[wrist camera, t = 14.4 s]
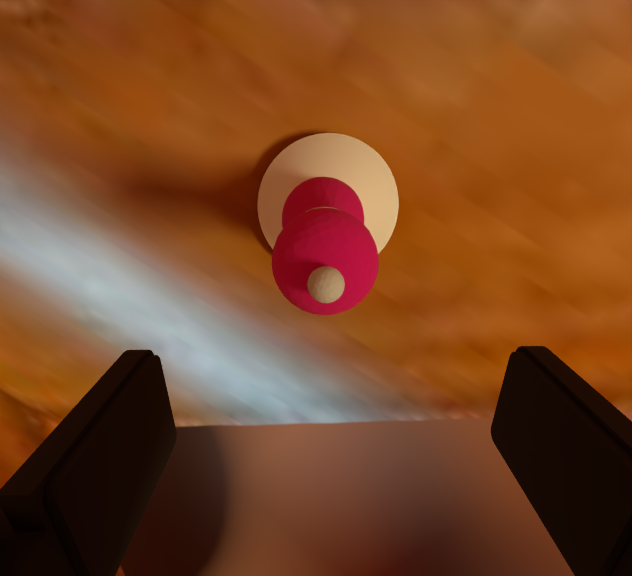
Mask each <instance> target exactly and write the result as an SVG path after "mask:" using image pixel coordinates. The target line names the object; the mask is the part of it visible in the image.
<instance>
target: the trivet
mask: <svg viewBox="0 0 632 576" xmlns="http://www.w3.org/2000/svg"><path fill="white" fill-rule="evenodd" d="M315 177H332V178H335V179H338V180H340V181H342V182H344V183H346V184H347V185H349V186H350V187H351V188H352V189H353V190H354V191H355V193H356V194H357V195H358V197H359V199H360V201H361V203H362V207H363V212H364V225H365V226H366V228H367V229H368V230H369V231H370V233H371V235H372V237H373V239H374V241H375V243H376V247H377V251H378V254H379V252H380V251H381V250H382V249H383V248H384V246H385V245H386V244H387V242H388V240H389V238H390V237H391V235H392V232H393V230H394V227H395V224H396V220H397V216H398V192H397V187H396V183H395V180H394V177H393V175H392V173H391V170H390V169H389V167H388V165H387V164H386V162H385V161H384V160H383V159H382V157H381V156H380V155H379V154H378V153H377V152H376V151H375V150H374V149H373V148H371V147H370V146H368V145H367V144H365V143H364V142H362V141H360V140H358V139H356V138H353V137H350V136H347V135H343V134H337V133H322V134H315V135H311V136H307V137H304V138H302V139H300V140H297V141H296V142H294V143H292V144H291V145H289V146H288V147H286V148H285V149H284V150H283V151H281V152H280V153H279V154H278V155H277V156H276V158H275V159H274V160H273V161H272V163H271V164H270V165H269V167H268V169H267V170H266V172H265V174H264V176H263V179H262V182H261V185H260V189H259V193H258V203H257V204H258V217H259V222H260V226H261V229H262V232H263V234H264V236H265V238H266V240H267V242H268V243H269V245H270V246H271V248H272V249H273V248H274V245H275V243H276V240H277V237H278V235H279V234H280V232H281V231H282V229H283V228H282V211H283V207H284V204H285V201H286V199H287V197H288V196H289V194H290V193H291V192H292V191H293V189H294V188H295V187H296V186H298V185H299V184H301V183H302V182H304V181H306V180H308V179H311V178H315Z"/></svg>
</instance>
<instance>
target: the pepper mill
mask: <svg viewBox="0 0 632 576" xmlns="http://www.w3.org/2000/svg"><path fill="white" fill-rule="evenodd" d="M282 228H283V229H282V231H281V232H280V234H279V235H278V237H277V240H276V243H275V245H274V248H273V254H272V270H273V275H274V278H275V281H276V284H277V285H278V287H279V289H280V291H281V292H282V293H283V295H284V296H285V297H286V298H287V299H288V300H289V301H290V302H291V303H292V304H293V305H295V306H297V307H298V308H300V309H301V310H304V311H306V312H309V313H311V314H317V315H332V314H337V313H340V312H343V311H346V310H349V309H350V308H352V307H354V306H356V305H357V304H358V303H359V302H361V301H362V300H363V299H364V298H365V297H366V295H367V294H368V293H369V291H370V290H371V288H372V286H373V284H374V282H375V280H376V277H377V272H378V251H377V247H376V243H375V241H374V239H373V237H372V235H371V233H370V231H369V230H368V229H367V228H366V226H365V225H364V212H363V207H362V203H361V201H360V199H359V197H358V195H357V194H356V193H355V191H354V190H353V189H352V188H351V187H350V186H349V185H347V184H346V183H344V182H342V181H340V180H338V179H335V178H332V177H315V178H311V179H308V180H306V181H304V182H302V183H301V184H299V185H298V186H296V187H295V188H294V189H293V191H292V192H291V193H290V194H289V196H288V197H287V199H286V201H285V204H284V207H283V211H282Z"/></svg>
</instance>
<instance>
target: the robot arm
mask: <svg viewBox="0 0 632 576" xmlns="http://www.w3.org/2000/svg"><path fill="white" fill-rule="evenodd" d="M491 436H492V439H493V442H494V444H495V445H496V447H497V449H498V450H499V452H500V453H501V455H502V457H503V458H504V460H505V462H506V463H507V465H508V467H509V468H510V470H511V472H512V473H513V475H514V476H515V478H516V479H517V481H518V483H519V485H520V486H521V488H522V489H523V491H524V493H525V494H526V496H527V498H528V499H529V501H530V503H531V504H532V506H533V508H534V509H535V511H536V512H537V514H538V516H539V517H540V519H541V521H542V523H543V524H544V526H545V527H546V529H547V531H548V532H549V534H550V536H551V537H552V539H553V541H554V542H555V544H556V545H557V547H558V549H559V550H560V552H561V554H562V555H563V557H564V559H565V560H566V562H567V564H568V565H569V567H570V569H571V570H572V572H573V573H574V575H575V576H632V422H631V420H629V419H628V418H627V417H626V416H625V415H624V414H622V413H621V412H620V411H619V410H618V409H617V408H616V407H614V406H613V405H612V404H611V403H610V402H609V401H608V400H606V399H605V398H604V397H603V396H602V395H601V394H599V393H598V392H597V391H596V390H595V389H594V388H593V387H591V386H590V385H589V384H588V383H587V382H586V381H585V380H583V379H582V378H581V377H580V376H579V375H578V374H576V373H575V372H574V371H573V370H572V369H571V368H570V367H568V366H567V365H566V364H565V363H564V362H563V361H562V360H560V359H559V358H558V357H557V356H556V355H555V354H553V353H552V352H551V351H550V350H549V349H548V348H546V347H544V346H521V347H518V349H517V350H516V352H512V353H511V355H510V357H509V361H508V365H507V369H506V372H505V376H504V380H503V384H502V388H501V391H500V395H499V399H498V403H497V407H496V411H495V414H494V418H493V422H492V426H491ZM175 441H176V428H175V424H174V419H173V415H172V410H171V406H170V401H169V396H168V392H167V387H166V383H165V378H164V374H163V369H162V365H161V360H160V358H159V356H157V355H154V354H153V352H152V351H151V350H127V351H125V352H124V353H123V354H122V355H121V356H120V357H119V358H118V359H117V361H116V362H115V363H114V364H113V365H112V366H111V367H110V368H109V369H108V371H107V372H106V373H105V374H104V375H103V376H102V377H101V378H100V379H99V381H98V382H97V383H96V384H95V385H94V386H93V387H92V388H91V389H90V391H89V392H88V393H87V394H86V395H85V396H84V397H83V398H82V399H81V400H80V402H79V403H78V404H77V405H76V406H75V407H74V408H73V409H72V410H71V412H70V413H69V414H68V415H67V416H66V417H65V418H64V419H63V420H62V422H61V423H60V424H59V425H58V426H57V427H56V428H55V429H54V430H53V432H52V433H51V434H50V435H49V436H48V437H47V438H46V439H45V440H44V442H43V443H42V444H41V445H40V446H39V447H38V448H37V449H36V450H35V452H34V453H33V454H32V455H31V456H30V457H29V458H28V459H27V460H26V462H25V463H24V464H23V465H22V466H21V467H20V468H19V469H18V470H17V471H16V473H15V474H14V475H13V476H12V477H11V478H10V479H9V480H8V481H7V483H6V484H5V485H4V486H3V487H2V488H1V489H0V576H115V575H116V573H117V571H118V568H119V566H120V564H121V562H122V560H123V558H124V555H125V553H126V551H127V549H128V546H129V544H130V542H131V540H132V538H133V536H134V533H135V531H136V529H137V527H138V525H139V522H140V520H141V518H142V516H143V513H144V511H145V509H146V507H147V505H148V503H149V500H150V498H151V496H152V494H153V492H154V489H155V487H156V485H157V483H158V481H159V478H160V476H161V474H162V472H163V470H164V467H165V465H166V463H167V461H168V459H169V457H170V454H171V452H172V450H173V448H174V445H175Z"/></svg>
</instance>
